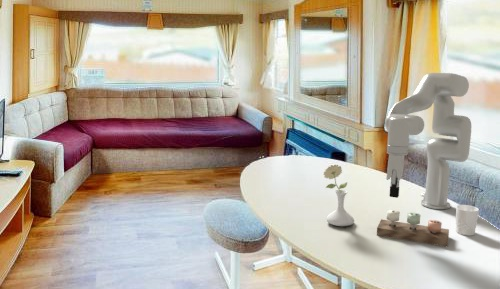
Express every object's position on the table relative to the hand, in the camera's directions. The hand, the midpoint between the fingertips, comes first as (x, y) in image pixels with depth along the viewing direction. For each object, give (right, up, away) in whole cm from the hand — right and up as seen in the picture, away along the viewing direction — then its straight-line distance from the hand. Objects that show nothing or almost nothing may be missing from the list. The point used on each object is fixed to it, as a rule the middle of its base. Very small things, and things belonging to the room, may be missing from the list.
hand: (394, 196), depth 167 cm
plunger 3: (+14, -15, -3) cm, 21 cm away
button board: (+7, -15, 0) cm, 17 cm away
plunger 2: (+7, -13, -1) cm, 15 cm away
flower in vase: (-19, -13, +13) cm, 26 cm away
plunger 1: (0, -12, +3) cm, 13 cm away
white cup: (+29, -15, +4) cm, 33 cm away
